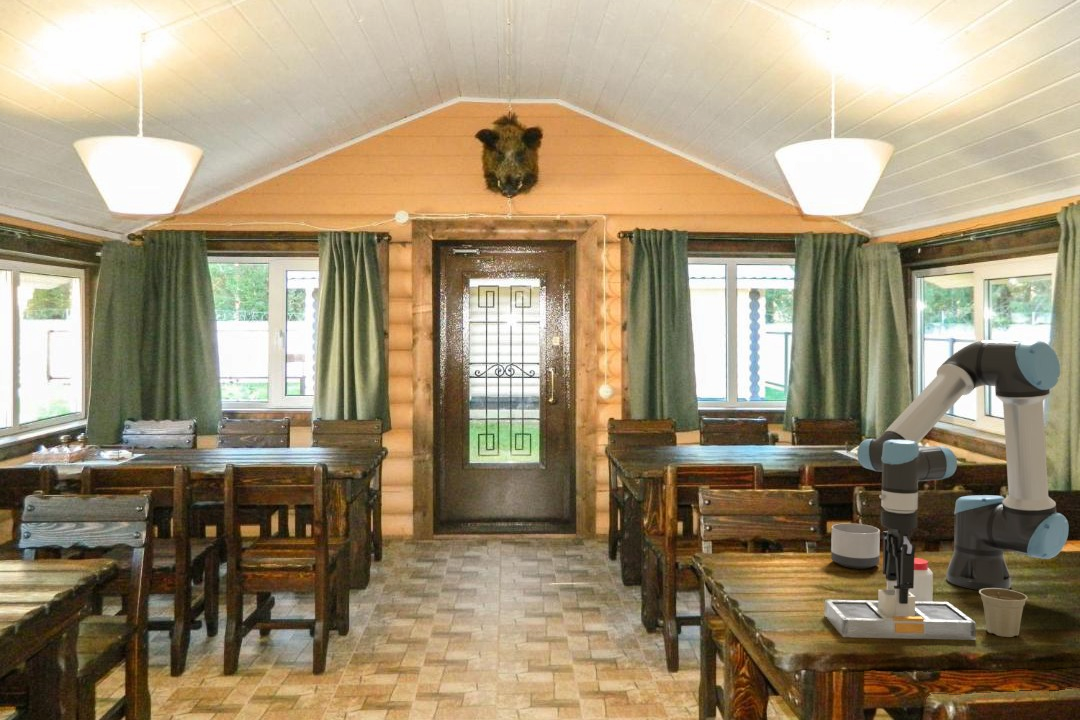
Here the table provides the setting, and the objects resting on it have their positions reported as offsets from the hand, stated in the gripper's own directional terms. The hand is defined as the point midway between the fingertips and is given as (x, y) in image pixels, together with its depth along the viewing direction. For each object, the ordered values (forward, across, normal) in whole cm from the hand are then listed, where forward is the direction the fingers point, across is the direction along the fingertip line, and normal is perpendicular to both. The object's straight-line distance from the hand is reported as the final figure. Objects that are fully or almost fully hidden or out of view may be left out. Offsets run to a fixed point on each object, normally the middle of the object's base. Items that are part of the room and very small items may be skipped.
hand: (897, 612), depth 190 cm
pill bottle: (+3, -16, +10) cm, 19 cm away
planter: (+3, -52, +7) cm, 53 cm away
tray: (+3, 0, 0) cm, 3 cm away
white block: (0, 0, 0) cm, 1 cm away
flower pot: (+3, +2, +22) cm, 22 cm away
